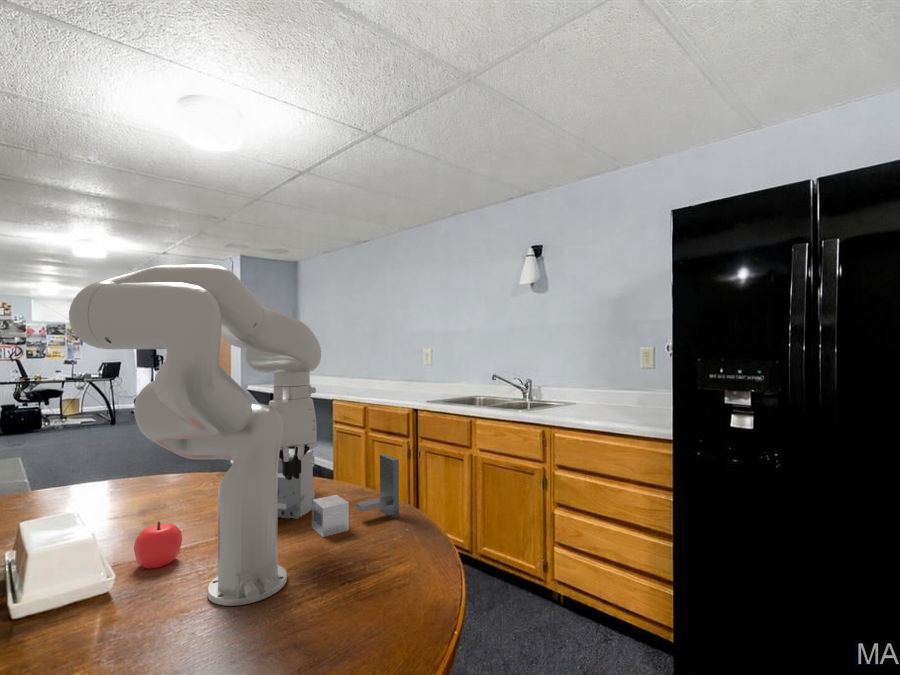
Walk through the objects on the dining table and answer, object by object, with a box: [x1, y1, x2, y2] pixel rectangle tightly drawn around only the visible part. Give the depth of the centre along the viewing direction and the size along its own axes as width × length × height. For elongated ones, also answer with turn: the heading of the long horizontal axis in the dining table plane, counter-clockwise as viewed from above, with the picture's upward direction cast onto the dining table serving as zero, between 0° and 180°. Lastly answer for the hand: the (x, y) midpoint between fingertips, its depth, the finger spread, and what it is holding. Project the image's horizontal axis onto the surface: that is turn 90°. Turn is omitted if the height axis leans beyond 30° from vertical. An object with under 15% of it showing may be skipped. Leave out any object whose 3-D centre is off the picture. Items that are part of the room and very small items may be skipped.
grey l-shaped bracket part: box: [355, 454, 400, 519], centre depth 111 cm, size 7×9×14 cm
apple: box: [133, 520, 183, 570], centre depth 88 cm, size 8×8×8 cm
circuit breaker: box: [278, 449, 316, 520], centre depth 112 cm, size 8×14×15 cm, turn 166°
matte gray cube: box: [311, 494, 350, 538], centre depth 104 cm, size 7×6×6 cm
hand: (291, 477), depth 99 cm, fingers closed
